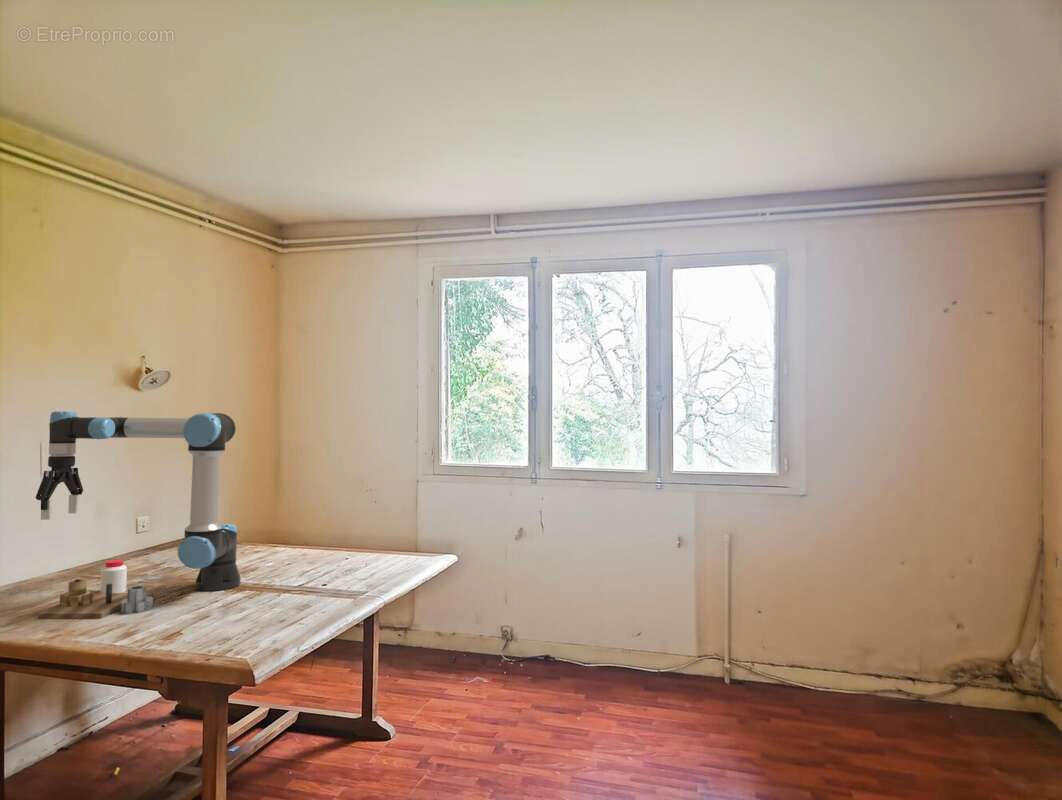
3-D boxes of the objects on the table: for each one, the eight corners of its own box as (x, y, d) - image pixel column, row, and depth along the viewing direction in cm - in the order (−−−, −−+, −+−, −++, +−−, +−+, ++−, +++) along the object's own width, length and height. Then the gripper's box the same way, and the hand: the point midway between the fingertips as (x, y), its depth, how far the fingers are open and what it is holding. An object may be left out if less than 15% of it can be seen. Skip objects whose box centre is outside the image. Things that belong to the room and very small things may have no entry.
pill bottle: (96, 595, 215) (97, 564, 215) (105, 589, 222) (106, 559, 223) (121, 594, 217) (122, 563, 217) (129, 588, 224) (130, 558, 225)
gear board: (141, 597, 214) (142, 571, 214) (101, 618, 192) (102, 588, 192) (84, 597, 212) (85, 571, 213) (37, 618, 190) (38, 588, 191)
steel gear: (157, 605, 206) (158, 584, 206) (142, 613, 197) (143, 591, 197) (130, 605, 205) (131, 584, 205) (114, 613, 196) (115, 591, 197)
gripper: (74, 453, 227) (72, 510, 226) (23, 457, 202) (21, 522, 201) (96, 453, 227) (93, 510, 227) (47, 457, 202) (45, 522, 202)
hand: (59, 516), depth 214 cm, fingers open, 13 cm apart
